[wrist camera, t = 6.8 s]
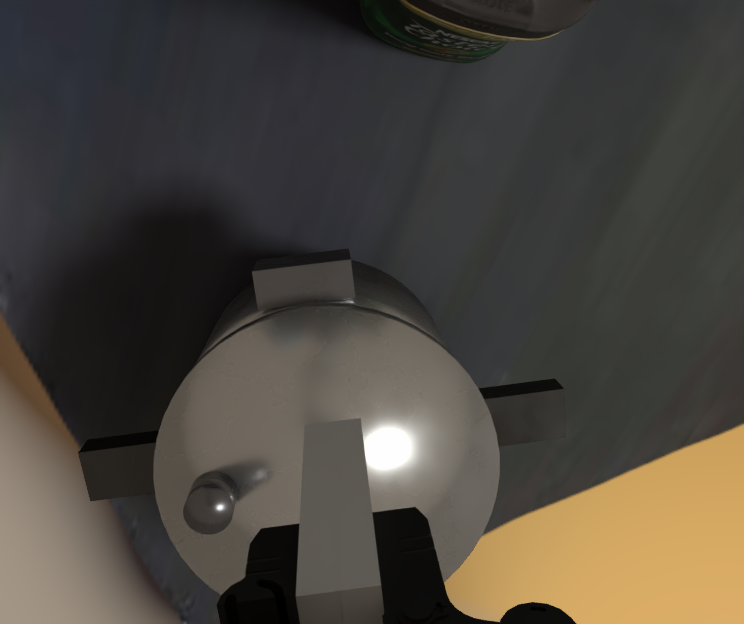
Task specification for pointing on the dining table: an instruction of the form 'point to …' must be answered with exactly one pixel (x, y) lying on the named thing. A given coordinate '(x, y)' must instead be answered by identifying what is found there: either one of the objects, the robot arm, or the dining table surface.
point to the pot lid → (318, 405)
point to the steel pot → (311, 287)
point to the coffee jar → (467, 24)
